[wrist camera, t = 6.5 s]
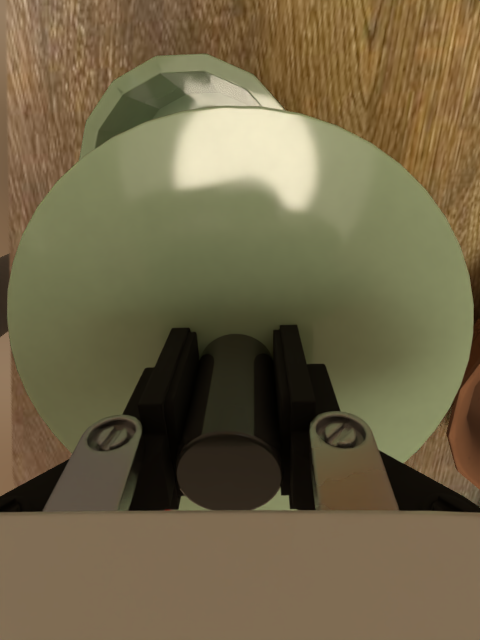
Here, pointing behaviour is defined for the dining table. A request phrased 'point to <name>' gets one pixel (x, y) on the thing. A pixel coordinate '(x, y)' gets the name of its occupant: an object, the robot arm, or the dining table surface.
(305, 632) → the robot arm
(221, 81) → the pot
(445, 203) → the dining table surface
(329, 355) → the lid
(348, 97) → the dining table surface
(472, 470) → the bowl
